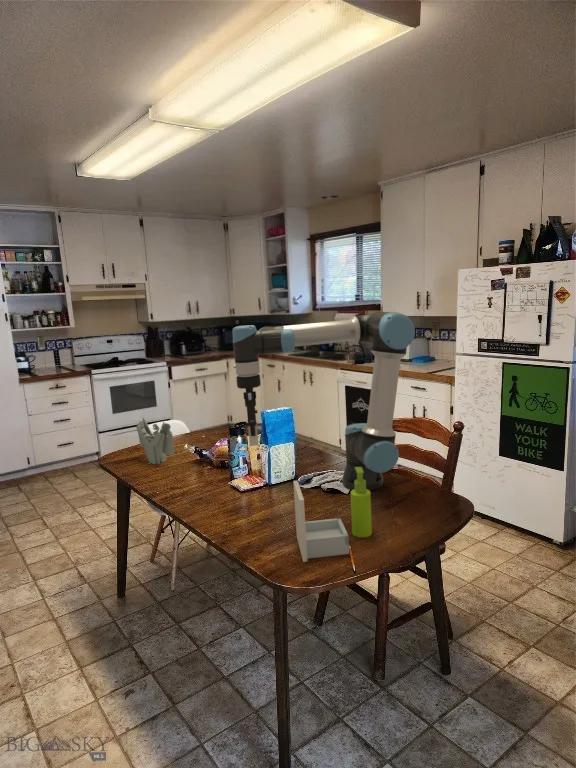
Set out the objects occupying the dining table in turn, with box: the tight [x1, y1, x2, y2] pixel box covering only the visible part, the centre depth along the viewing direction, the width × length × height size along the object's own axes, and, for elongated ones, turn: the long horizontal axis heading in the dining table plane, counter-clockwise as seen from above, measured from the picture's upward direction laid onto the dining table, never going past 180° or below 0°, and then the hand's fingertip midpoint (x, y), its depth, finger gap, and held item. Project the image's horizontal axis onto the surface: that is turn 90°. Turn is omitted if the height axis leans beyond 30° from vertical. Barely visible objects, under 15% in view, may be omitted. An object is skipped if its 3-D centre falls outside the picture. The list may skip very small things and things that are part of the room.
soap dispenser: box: [350, 467, 373, 539], centre depth 146 cm, size 6×7×20 cm
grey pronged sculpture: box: [135, 417, 175, 465], centre depth 224 cm, size 28×7×20 cm, turn 49°
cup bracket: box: [292, 480, 350, 563], centre depth 139 cm, size 13×14×18 cm
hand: (253, 439), depth 159 cm, fingers open, 13 cm apart
